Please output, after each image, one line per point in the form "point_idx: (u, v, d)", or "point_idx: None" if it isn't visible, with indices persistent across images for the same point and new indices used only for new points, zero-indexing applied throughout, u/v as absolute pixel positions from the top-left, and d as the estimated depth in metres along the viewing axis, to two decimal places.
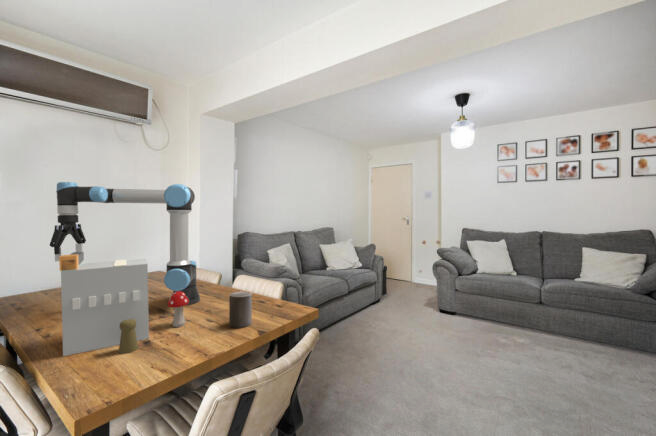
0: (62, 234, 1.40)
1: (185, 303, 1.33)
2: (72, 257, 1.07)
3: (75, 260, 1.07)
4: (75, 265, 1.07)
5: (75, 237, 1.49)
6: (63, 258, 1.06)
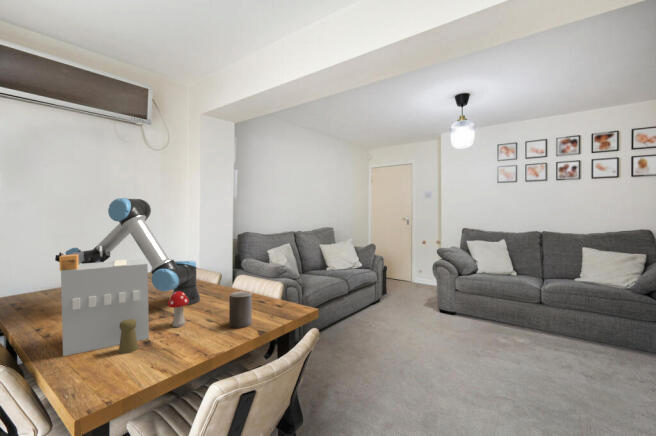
0: None
1: (185, 303, 1.33)
2: (72, 257, 1.07)
3: (75, 260, 1.07)
4: (75, 265, 1.07)
5: None
6: (63, 258, 1.06)
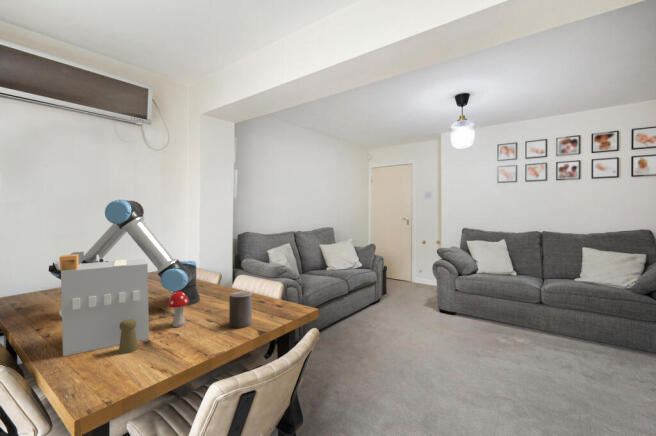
0: None
1: (185, 303, 1.33)
2: (72, 257, 1.07)
3: (75, 260, 1.07)
4: (75, 265, 1.07)
5: None
6: (63, 258, 1.06)
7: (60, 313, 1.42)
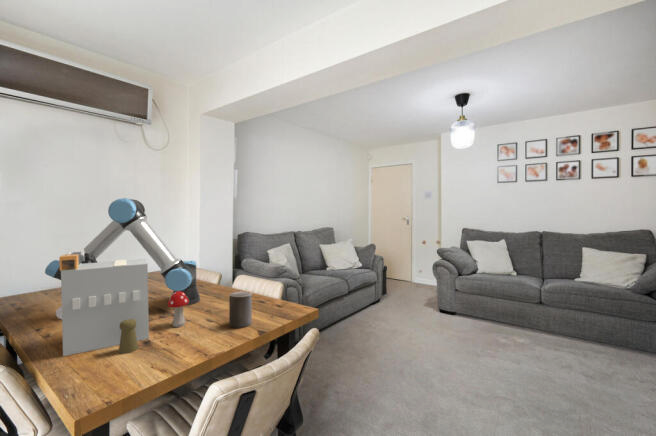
0: None
1: (185, 303, 1.33)
2: (72, 257, 1.07)
3: (75, 260, 1.07)
4: (75, 265, 1.07)
5: None
6: (63, 258, 1.06)
7: (57, 316, 1.42)
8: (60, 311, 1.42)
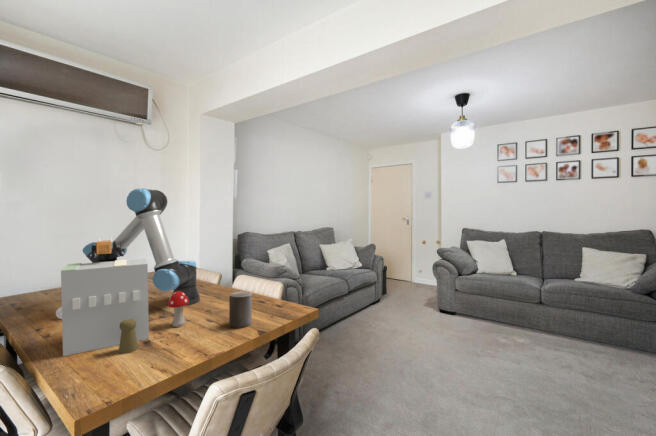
0: (113, 252, 1.45)
1: (185, 303, 1.33)
2: (107, 242, 1.20)
3: (110, 245, 1.21)
4: (110, 250, 1.21)
5: None
6: (99, 243, 1.19)
7: (57, 316, 1.42)
8: (60, 311, 1.42)
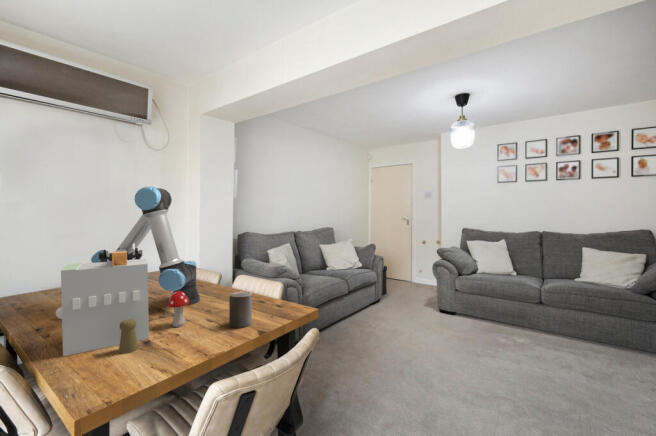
0: None
1: (185, 303, 1.33)
2: (123, 253, 1.15)
3: (125, 256, 1.16)
4: (125, 261, 1.16)
5: None
6: (115, 254, 1.14)
7: (57, 316, 1.42)
8: (60, 311, 1.42)
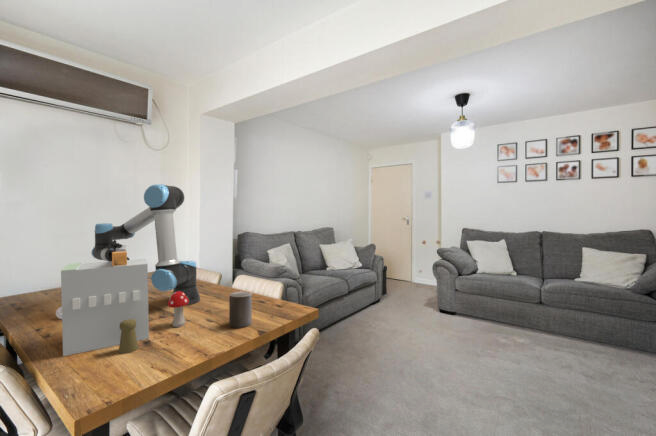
0: None
1: (185, 303, 1.33)
2: (123, 253, 1.15)
3: (125, 256, 1.16)
4: (125, 261, 1.16)
5: None
6: (115, 254, 1.14)
7: (57, 316, 1.42)
8: (60, 311, 1.42)
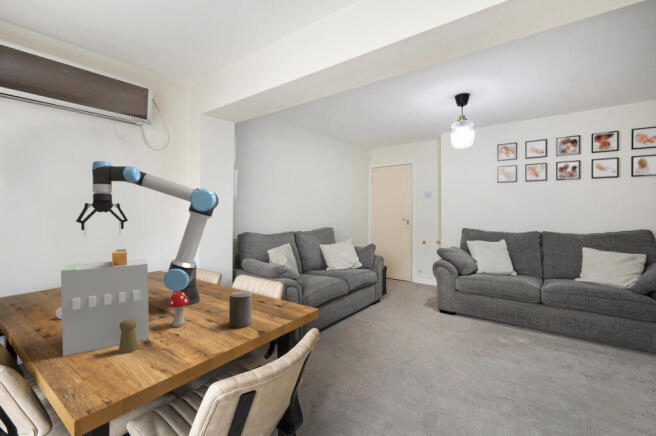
0: (91, 212, 1.45)
1: (185, 303, 1.33)
2: (123, 253, 1.15)
3: (125, 256, 1.16)
4: (125, 261, 1.16)
5: None
6: (115, 254, 1.14)
7: (57, 316, 1.42)
8: (60, 311, 1.42)
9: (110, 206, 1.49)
